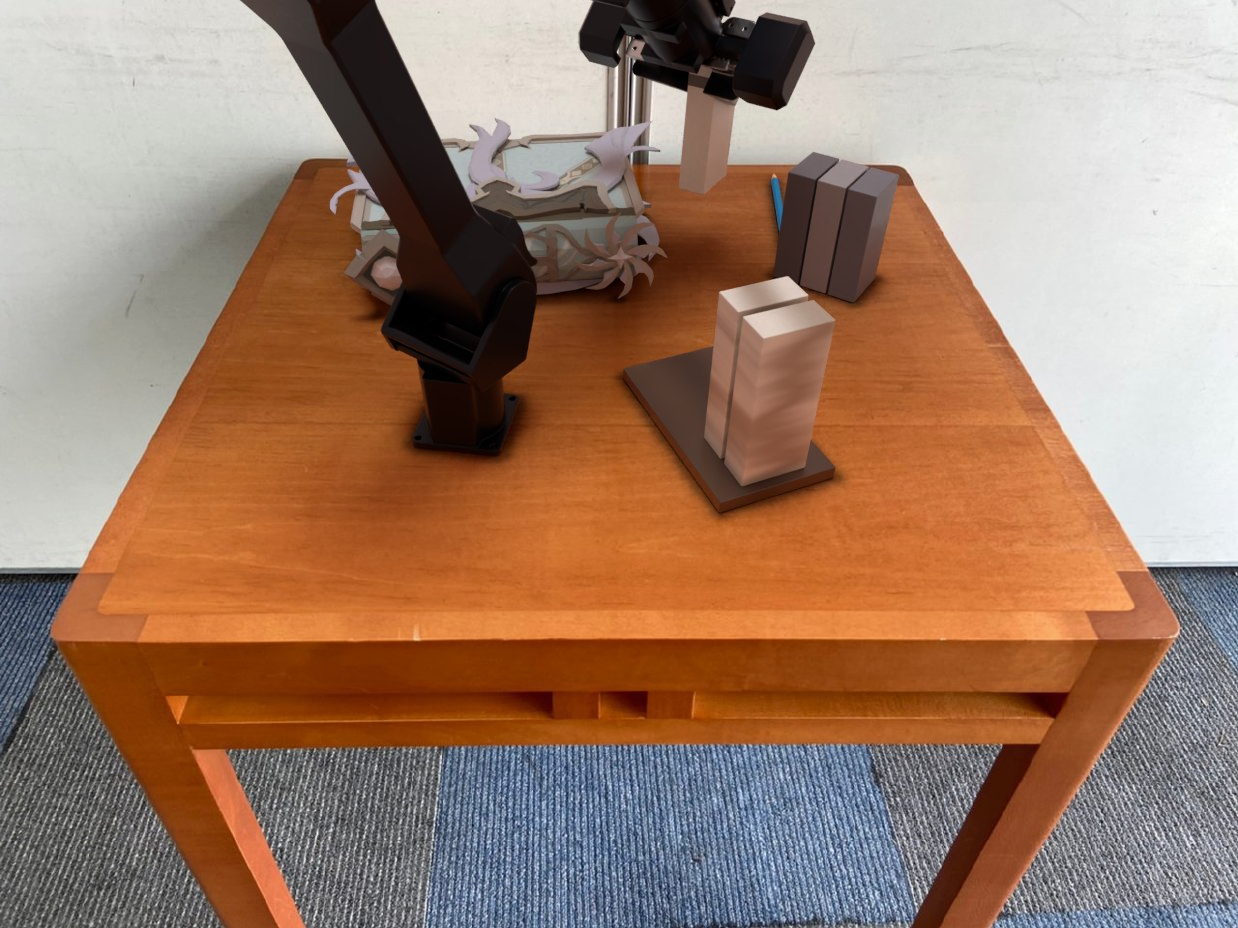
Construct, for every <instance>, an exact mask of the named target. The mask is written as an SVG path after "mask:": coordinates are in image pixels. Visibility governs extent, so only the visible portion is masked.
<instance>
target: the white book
mask: <svg viewBox="0 0 1238 928" xmlns="http://www.w3.org/2000/svg"><path fill="white" fill-rule="evenodd" d="M711 72H712V69H709V68H705V67H700V69H699V72H698V74H694V73H690V72H689V76H688V91H687V92H686V104H685V112H684V113H685V114H684V125H683V135H682V144H681V145H682V146H681V156H680V168H679V177H678V179H679V180H678V189H680V190H684V191H687V192H690V193H694V194H697V195H701V196H704V195H706V194H707V193H708V192H709V191H710V190H711V189H712V188H713V187H715V186H716V185H717V184H719V182H720V181H722V180H723V179H724V178H725V177H726V176H727V172H728V163H729V157H730V156H729V155H730V147H731V141H732V132H733V124H734V118H735V109H736V105H735V106H732V105H729V104H727V103H724V102H722V101H720V100H718V99H715V98H713V97H710V96H708V95H706V94H704V93H703V90H704V88H705V85H706V83H707V81H708V79H709V77H710V74H711Z"/></svg>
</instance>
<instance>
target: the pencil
mask: <svg viewBox="0 0 1238 928" xmlns="http://www.w3.org/2000/svg"><path fill="white" fill-rule="evenodd" d="M770 182H771V190H772V196H773V202H774V209H775V215H776V220H777V227H778V233H779V232H780V225H781V218H782V212H783V205H784V202H783V198H782V192H781V188H780V180H779V179H778V176H777V175H776V174H775V173H773V174H772V175H771V179H770Z"/></svg>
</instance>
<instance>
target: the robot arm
mask: <svg viewBox="0 0 1238 928" xmlns="http://www.w3.org/2000/svg"><path fill="white" fill-rule="evenodd" d="M239 1H240V2H241V3H242V4H244V5H245V6H246V7H247V8H248V9H249V10H250V11H252V12H253V13H254V14H255V15H256V16H257V17H259V18H260V19H261V20H262V21H263V22H265V24H267V25H268V26H269V27H270V28H271V29H272V30H273V31H274V32H275V33H276V34H277V35H278V37H279V38H280V39H281V40H282V42H283V43H284V45H285V47H286V48H287V50H288V52H289V54H290V55H291V57H292V58H293V60H294V62H295V64H296V65H297V67H298V68H299V70H300V72H301V74H302V76H303V77H304V78H305V80H306V82H307V84H308V85H309V87H310V88H311V90H312V92H313V94H314V95H315V97H316V98H317V101H318V102H319V103H320V105H321V107H322V108H323V110H324V112H325V114H326V115H327V117H328V118H329V120H330V122H331V124H332V126H333V127H334V128H335V130H336V132H337V133H338V135H339V137H340V138H341V140H342V142H343V144H344V145H345V147H346V148H347V150H348V151H349V153H350V154H351V155H352V157H353V158H354V160H355V162H356V163H357V165H358V166H357V167H358V168H359V170H361V172H362V173H363V175H364V177H365V178H366V180H367V182H368V183H369V185H370V187H371V188H372V190H373V192H374V193H375V195H376V197H377V198H378V200H379V202H380V203H381V205H382V207H383V208H384V210H385V212H386V213H387V215H388V217H389V218H390V220H391V222H392V223H393V225H394V227H395V228H396V230H397V232H398V234H399V237H400V238H399V244H398V250H397V256H396V266H397V269H398V272H399V274H400V277H401V279H402V283H401V285H400V287H399V290H398V292H397V294H396V296H395V298H394V301H393V303H392V305H391V306H390V307H389V309H388V311H387V314H386V316H385V318H384V321H383V322H382V324H381V327H380V333H381V335H382V337H383V338H384V340H385V341H386V343H387V344H388V346H389V347H390V349H392V350H394V351H395V352H401V353H403V354H405V355H408V356H409V357H412V358H413V359H415V360H416V365H417V370H418V375H419V382H420V388H421V393H422V394H421V395H422V400H423V406H424V411H423V413H422V415H421V418H420V419H419V422H418V423H417V426H416V427H415V429H414V432H413V434H412V436H411V443H412V446H414V447H418V448H425V449H426V448H427V449H434V450H435V449H436V450H443V451H451V452H460V453H461V452H463V453H469V454H479V455H488V456H497V455H499V454H501V453H502V451H503V448H504V445H505V442H506V440H507V438H508V435H509V433H510V430H511V426H512V424H513V421H514V418H515V416H516V414H517V410H518V408H519V405H520V397H519V396H518V395H517V394H513V393H505V391H504V380H503V379H504V377H505V376H507V375H508V374H509V373H511V372H512V371H513V370H515V369H516V368H517V367H519V366H520V365H521V364H523V363H524V362H526V360H527V357H528V352H529V347H530V341H531V336H532V329H533V324H534V320H535V319H534V318H535V314H536V313H535V312H536V307H537V302H538V295H537V282H536V278H535V274H534V271H533V269H532V268H531V267H532V266H534V265H536V264H537V262H538V260H537V259H536V258H534V257H533V256H532V255H531V254H530V252H529V251H528V249H527V246H526V243H525V239H524V234H523V231H522V229H521V227H520V225H519V224H518V222H517V221H516V219H514V218H512V217H509V216H506V215H504V214H501V213H498V212H496V211H493V210H490V209H487V208H485V207H482V206H479V205H477V204H474V203H471V201H470V199H469V197H468V194H467V192H466V190H465V188H464V186H463V184H462V182H461V180H460V178H459V176H458V174H457V172H456V169H455V167H454V165H453V163H452V161H451V159H450V157H449V155H448V153H447V151H446V149H445V146H444V144H443V142H442V140H441V139H442V138H441V136H440V134H439V132H438V130H437V128H436V126H435V124H434V122H433V119H432V118H431V115H430V113H429V111H428V109H427V107H426V104H425V102H424V101H423V98H422V95H420V92H419V90H418V88H417V86H416V84H415V82H414V79H413V78H412V75H411V74H410V71H409V69H408V67H407V65H406V63H405V61H404V59H403V57H402V55H401V53H400V50H399V49H398V46H397V44H396V43H395V40H394V38H393V37H392V34H391V32H390V30H389V28H388V26H387V24H386V21H385V19H384V17H383V16H382V13H381V11H380V8H379V7H378V4H377V1H376V0H239ZM736 2H737V1H736V0H591V4H590V6H589V8H588V10H587V12H586V15H585V17H584V19H583V22H582V24H581V26H580V28H579V30H578V37H577V38H578V39H577V40H578V47H579V50H580V52H581V53H582V54H583V56H584V57H585V58H586V59H587V61H588V62H589V63H593V64H595V65H596V64H597V65H601V66H603V67H608V68H612V69H616V68H617V67H618V66H619V64H620V63H621V60H622V57H621V56H620V54H619V53H618V51H619V48H620V46H621V44H622V42H623V39H624V37H625V36H626V37H629V38H632V39H630V40H629V43H628V44H627V47H626V50H625V53H624V54H625V56H626V57H627V58H629V59H633V61H634V62H633V64H632V67H631V71H632V74H633V75H634V76H636V77H639V78H641V79H645V80H649V81H651V82H653V83H658V84H660V85H662V86H666V87H669V88H673V89H676V90H677V91H678V90H679V91H681V92H685V93H687V91H688V76H689V72H690V73H694V74H698V72H699V69H700V67H705V68H709V69H712V72H711V74H710V77H709V79H708V81H707V83H706V85H705V88H704V90H703V93H704V94H706V95H708V96H710V97H713V98H715V99H718V100H720V101H722V102H724V103H727V104H729V105H732V106H735V107H736V106H737V104H738V101H739V99H741V100H742V101H744V102H745V103H748V104H750V105H755V106H758V107H760V108H761V107H762V108H765V109H769V110H772V111H773V110H774V111H779V110H781V109H782V108H785V107H786V106H788V103H789V102H790V99H791V97H792V95H793V93H794V92H795V89H796V87H797V84H798V82H799V81H800V79H801V76H802V74H803V71H804V69H805V67H806V65H807V62H808V60H809V58H810V56H811V54H812V52H813V50H814V47H815V46H816V41H815V38H814V35H813V32H812V29H811V27H810V25H809V22H808V20H805V19H800V18H795V17H791V16H786V15H781V14H777V13H772V12H769V11H768V12H765V13H763V14H760V15H759V16H758V17H757V19H756V21H755V20H752V19H746V18H742V17H737V16H731V14H732V12H733V9H734V7H735V6H736ZM724 17H725V18H727V19H725V21H724V22H722V21H723V19H724Z"/></svg>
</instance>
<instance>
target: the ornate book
mask: <svg viewBox="0 0 1238 928" xmlns="http://www.w3.org/2000/svg"><path fill="white" fill-rule="evenodd" d="M494 121H495V122H496V126H495V128H494V130H493V133H492V135H491V134H490V133H489V132H488V131H487V130H486V129H485V128H484V127H482V126H480V125H476V124H471V123H469V124H468V126H469V127H468V128H470V129H472V131H474V132H475V133H476V134H477V137H478V140H469V141H468V140H466V139H463V138H458V137H457V138H456V137H451V138H441V140H442V142H443V144H444V146H445V149H446V151H447V153H448V155H449V157H450V159H451V161H452V163H453V165H454V167H455V169H456V172H457V174H458V176H459V178H460V180H461V182H462V184H463V186H464V188H465V190H466V192H467V194H468V197H469V199H470V201H471V203H474V204H477V205H479V206H482V207H485V208H487V209H490V210H493V211H496V212H498V213H501V214H504V215H506V216H509V217H512V218H514V219H516V221H517V222H518V224H519V225H520V227H521V229H522V231H523V234H524V239H525V243H526V246H527V249H528V251H529V252H530V254H531V255H532V256H533V257H534V258H536V259H537V260H538V262H537V264H536V265H534V266H532V267H531V268H532V269H533V271H534V274H535V278H536V282H537V296H539V295H550V294H556V293H562V292H568V291H575V290H579V289H583V288H586V289H588V290H596V291H598V290H603V289H605V288H606V287H608V286H609V285H610V284H611V283H613V282H614V281H615V279H619V280H620V281H621V282H622V283H623V284H624V287H623V290H622V292H621V293H620V294H619V296H618V297H617V300H618V299H620V298H622V297H623V296H625V295H627V294H628V293H629V292H630V290H632V287H633V281H634V277H636V276H637V275H638V274H644V275H646V277H647V278H648V283H649V287H650V288H651V287H652V284H653V282H654V281H653V280H654V277H655V275H654V271H653V269H652V268H651V267H650V266H649V264H648V263H647V262H645V261H644V260H643V259H644V258H646V257H647V256H648V262H650V261H651V260H652V258H653V257H654V256H655V255H656V254H658V255H661V256H662V257H663V258H664V257H665V259H668V256H667V254H666V252H664V250H663V248H662V247H659V245H660V236H659V233H658V230H657V227H656V226H655V222H652V221H651V220H650V219H648V217H647V216H644V215H643V214H644V213H645V212H646V211H645V210H646V209H651V208H652V203H649V202H647V201H644V200H643V199H642V195H641V193H640V189H639V185H638V184H637V180H636V177H635V175H634V171H633V169H632V166H631V162H630V160H629V155H631V154H633V153H635V152H644V151H645V152H656V153H661V149H659V148H657V147H655V146H649V145H635V144H636V143H637V141H638V139H639V138H640V137H641V135H643V133H644V132H645V131H646V129H647V128H648V127H649V126H650V125H651V124H652V123H653V120H650V121H646V122H641V123H637V124H634V125H630V126H620V127H615V128H613V129H611V130H609V131H598V132H584V133H583V132H582V133H566V134H565V133H563V134H561V133H559V134H557V133H555V134H553V133H552V134H551V133H550V134H529V135H525V136H521V138H512V139H510V138H509V137H510V136H511V135H512V131H511V130H512V129H511V125H509V124H508V123H507V122H506V121H504V120H502V119H499V118H497V117H494ZM346 167H348V168H349V167H358V165H357V163H356V162H355V160H354V158H353V157H352V155H351V153H350V155H349V156H348V159H347V161H346ZM346 170H347V174H348V176H349V178H350V180H351V182H352V183H351V184H349V185H346V186H344V187H343V188H341V189H339V190H338V191H336V192H335V193H334V194H333V196H332V197H331V199H330V201H329V208H330V210H331V212H332V213H333V215H336V212H337V207H338V201H339V198H340V197H342V196H344V194H346V193H349V192H352V191H355V194H354V199H353V206H352V209H351V217H350V223H349V224H350V228H352V230H353V231H355V232H357V233H358V234H360V241H361V250H359V249H357V248H355V253H356V255H355V256H354V258H353V259H352V261H351V262H350V263H349V265H348V266H347V268H345V270H344V271H343V275H344V276H346V277H347V278H349V279H350V280H352V281H353V282H354V283H356V284H357V285H358V286H359V287H361V288H362V289H364V290H367V291H370V292H371V293H370V295H372V296H373V297H374V298H376V299H378V300H380V301H382V302H383V303H385V304H387V305H389V306H390V307H391V305H392V303H393V301H394V298H395V296H396V294H397V292H398V290H399V287H400V285H401V283H402V279H401V277H400V274H399V272H398V269H397V266H396V256H397V250H398V244H399V238H400V237H399V234H398V232H397V230H396V228H395V227H394V225H393V223H392V222H391V220H390V218H389V217H388V215H387V213H386V212H385V210H384V208H383V207H382V205H381V203H380V202H379V200H378V198H377V197H376V195H375V193H374V192H373V190H372V188H371V187H370V185H369V183H368V182H367V180H366V178H365V177H364V175H363V173H362V172H361V170H360V169H359V171H358V172H357V171H354V170H352V169H346ZM638 237H640V238H642V239H643V240H644V242H646V244H641V245H639V242H638V241H639V239H638Z"/></svg>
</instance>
